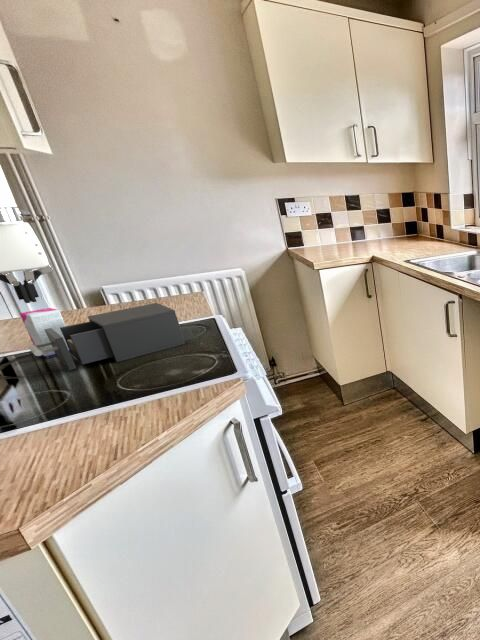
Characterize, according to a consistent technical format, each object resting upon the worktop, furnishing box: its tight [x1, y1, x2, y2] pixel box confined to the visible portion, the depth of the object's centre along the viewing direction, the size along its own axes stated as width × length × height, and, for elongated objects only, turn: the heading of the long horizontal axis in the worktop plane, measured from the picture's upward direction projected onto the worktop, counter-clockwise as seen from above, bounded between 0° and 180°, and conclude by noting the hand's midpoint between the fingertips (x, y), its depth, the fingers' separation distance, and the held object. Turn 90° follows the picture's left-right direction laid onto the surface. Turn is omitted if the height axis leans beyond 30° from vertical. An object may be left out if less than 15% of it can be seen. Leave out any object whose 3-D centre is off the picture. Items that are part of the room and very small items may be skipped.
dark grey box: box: [27, 321, 114, 371], centre depth 103 cm, size 17×12×8 cm
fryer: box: [87, 302, 186, 363], centre depth 111 cm, size 15×14×10 cm
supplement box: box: [19, 307, 71, 359], centre depth 109 cm, size 6×6×12 cm
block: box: [67, 339, 79, 358], centre depth 103 cm, size 4×4×4 cm
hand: (30, 301), depth 95 cm, fingers closed
